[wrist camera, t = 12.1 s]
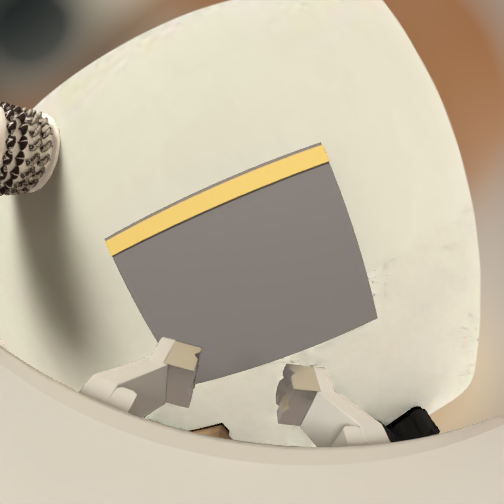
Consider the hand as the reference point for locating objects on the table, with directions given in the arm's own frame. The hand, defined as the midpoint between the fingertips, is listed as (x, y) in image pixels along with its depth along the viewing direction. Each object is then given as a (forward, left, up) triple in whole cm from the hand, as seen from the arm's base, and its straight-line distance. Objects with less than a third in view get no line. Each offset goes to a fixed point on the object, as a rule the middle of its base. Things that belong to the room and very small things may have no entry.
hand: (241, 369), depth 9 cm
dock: (0, 0, -13) cm, 13 cm away
